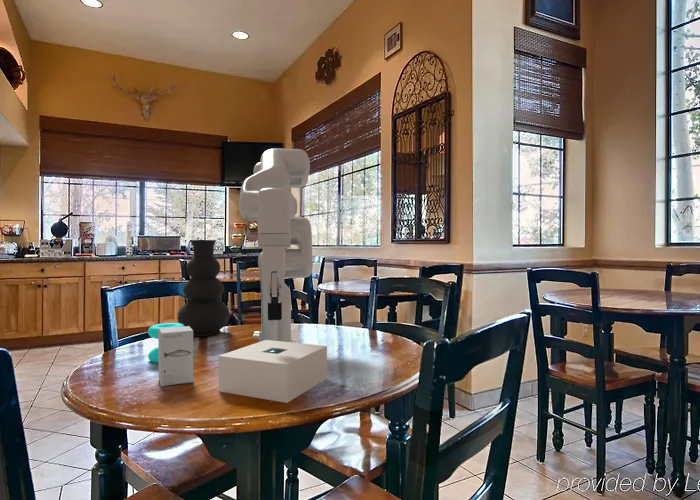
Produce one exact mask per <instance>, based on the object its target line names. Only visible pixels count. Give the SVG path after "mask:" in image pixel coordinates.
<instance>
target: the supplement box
mask: <svg viewBox="0 0 700 500" xmlns="http://www.w3.org/2000/svg"><path fill="white" fill-rule="evenodd" d="M157 340H158V341H157V342H158V346H157V347H158V350H159V363H158V380H159V384H160V387H166V386H172V385H173V386H174V385H180V384H181V385H182V384H189V383H193V382H194V336H193V330H192V329H191V328H190V326H185V327H172V328H159V329H158V339H157Z"/></svg>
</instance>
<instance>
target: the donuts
mask: <svg viewBox="0 0 700 500" xmlns="http://www.w3.org/2000/svg"><path fill="white" fill-rule="evenodd" d="M172 327H185V326H184V325H183V324H180V323H179V322H162V323H156V324H154V325H151V326H150V327H149V328H148V331H147V334H148V336H149V337H151V338H153V339H156V340H158V329H159V328H172ZM148 359H149V361H150V362H152V363H156V364H159V350H158V346H157V347H154V348H153V349H152V350H150V351H149V353H148Z"/></svg>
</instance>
